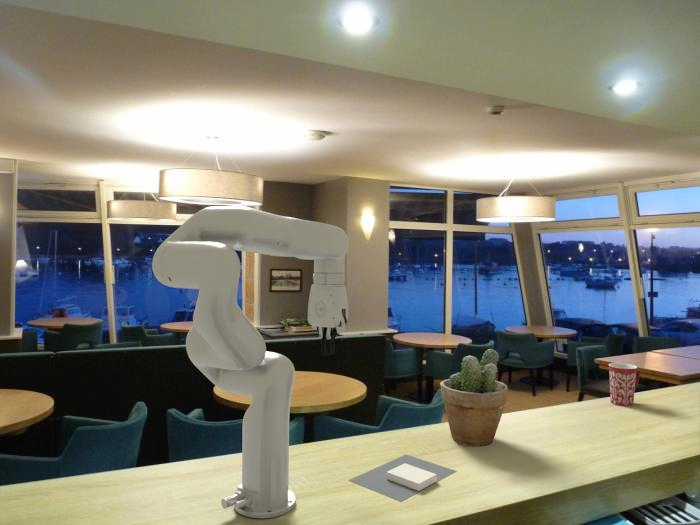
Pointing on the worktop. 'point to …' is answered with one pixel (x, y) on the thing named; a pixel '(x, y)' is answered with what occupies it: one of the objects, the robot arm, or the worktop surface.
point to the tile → (411, 476)
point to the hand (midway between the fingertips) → (328, 354)
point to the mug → (623, 383)
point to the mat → (391, 489)
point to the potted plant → (474, 400)
